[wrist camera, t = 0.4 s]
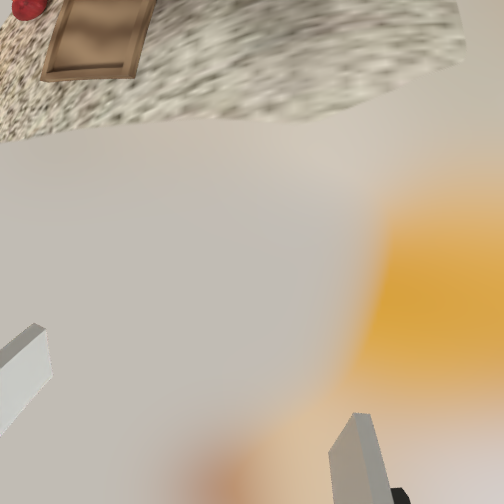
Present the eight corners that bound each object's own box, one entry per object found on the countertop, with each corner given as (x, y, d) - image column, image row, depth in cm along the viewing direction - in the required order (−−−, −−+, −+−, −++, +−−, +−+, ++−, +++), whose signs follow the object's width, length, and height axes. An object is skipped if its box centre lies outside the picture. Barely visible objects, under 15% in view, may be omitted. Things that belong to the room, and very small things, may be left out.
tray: (75, -6, 29) (68, -10, 27) (163, -19, 28) (158, -25, 26) (48, 82, 33) (39, 80, 31) (134, 78, 33) (128, 75, 31)
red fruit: (59, -10, 28) (31, -26, 21) (52, 18, 30) (21, 4, 22) (34, 2, 29) (5, -11, 21) (27, 30, 30) (-4, 19, 23)
